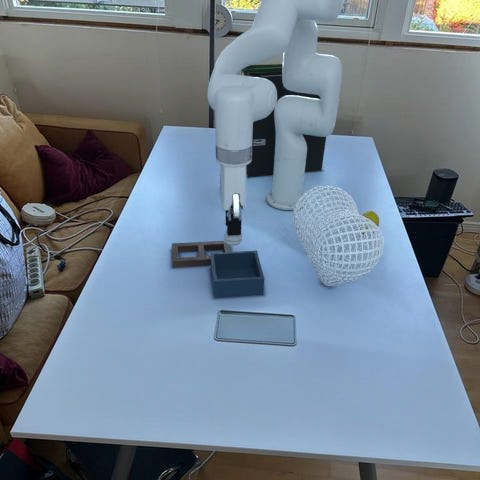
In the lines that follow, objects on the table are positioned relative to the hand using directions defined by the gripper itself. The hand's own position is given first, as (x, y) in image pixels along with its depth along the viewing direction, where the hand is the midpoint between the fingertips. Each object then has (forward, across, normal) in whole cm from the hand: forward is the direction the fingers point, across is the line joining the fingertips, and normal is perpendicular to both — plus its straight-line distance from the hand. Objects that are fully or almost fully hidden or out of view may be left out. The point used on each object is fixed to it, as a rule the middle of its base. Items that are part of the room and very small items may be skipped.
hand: (233, 229), depth 109 cm
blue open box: (+15, +1, +1) cm, 15 cm away
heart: (+15, +4, +24) cm, 28 cm away
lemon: (+15, -17, +41) cm, 47 cm away
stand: (+15, -11, -7) cm, 20 cm away
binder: (+15, -66, +24) cm, 72 cm away
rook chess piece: (+3, 0, 0) cm, 3 cm away
